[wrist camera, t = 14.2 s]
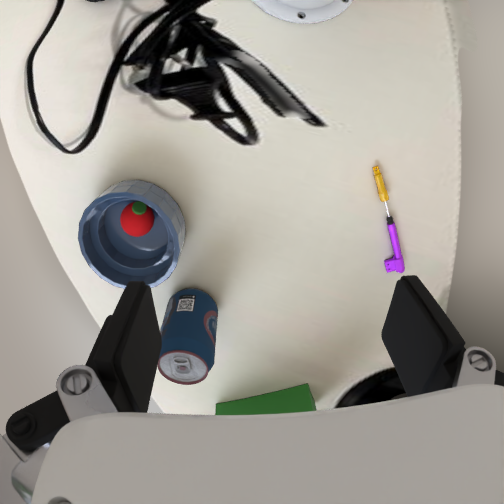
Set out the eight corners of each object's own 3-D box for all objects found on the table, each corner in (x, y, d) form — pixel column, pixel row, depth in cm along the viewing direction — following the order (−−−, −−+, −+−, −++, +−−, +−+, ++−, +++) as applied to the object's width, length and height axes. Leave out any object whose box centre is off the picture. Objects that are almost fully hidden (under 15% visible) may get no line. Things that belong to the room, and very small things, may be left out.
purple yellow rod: (404, 268, 42) (378, 164, 35) (405, 273, 41) (380, 167, 34) (387, 272, 43) (358, 170, 36) (388, 278, 42) (359, 173, 35)
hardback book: (230, 422, 59) (230, 528, 38) (216, 404, 56) (212, 520, 35) (314, 403, 57) (335, 513, 36) (307, 383, 53) (330, 505, 32)
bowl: (87, 182, 35) (69, 196, 30) (182, 176, 35) (173, 189, 31) (104, 268, 41) (91, 289, 36) (190, 268, 41) (184, 290, 37)
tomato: (119, 215, 36) (121, 192, 33) (150, 215, 38) (156, 193, 35) (119, 243, 35) (121, 221, 31) (152, 243, 36) (158, 222, 33)
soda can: (220, 322, 46) (216, 388, 35) (173, 323, 46) (159, 387, 35) (216, 283, 42) (209, 348, 32) (165, 284, 42) (145, 347, 32)
